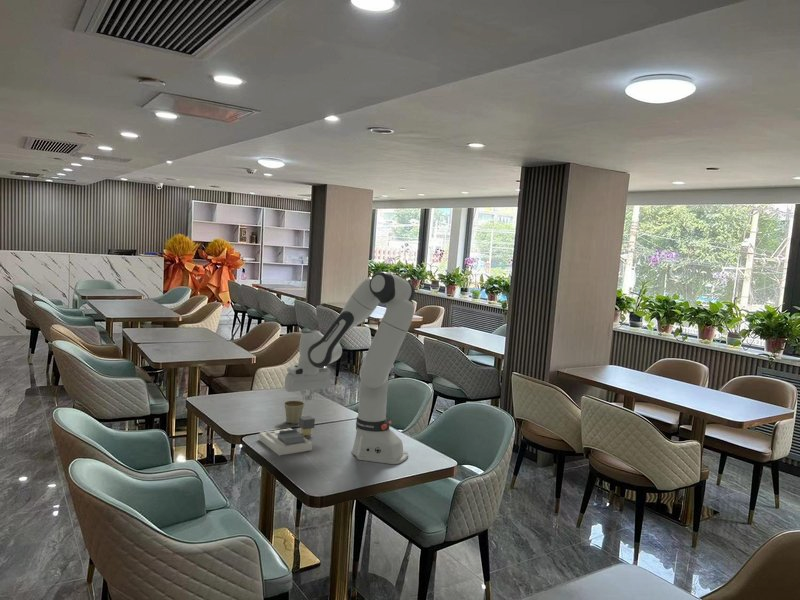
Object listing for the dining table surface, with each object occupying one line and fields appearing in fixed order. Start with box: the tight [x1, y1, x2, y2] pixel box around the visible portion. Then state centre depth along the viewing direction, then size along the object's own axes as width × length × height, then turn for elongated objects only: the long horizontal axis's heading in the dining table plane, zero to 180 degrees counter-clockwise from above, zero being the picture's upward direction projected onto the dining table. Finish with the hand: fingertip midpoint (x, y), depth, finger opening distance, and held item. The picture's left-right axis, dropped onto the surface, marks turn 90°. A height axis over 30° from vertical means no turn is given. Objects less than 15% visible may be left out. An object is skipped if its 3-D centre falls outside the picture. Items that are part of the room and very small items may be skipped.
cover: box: [278, 428, 305, 445], centre depth 231 cm, size 7×8×3 cm
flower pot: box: [283, 400, 306, 424], centre depth 266 cm, size 9×9×9 cm
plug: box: [298, 415, 316, 437], centre depth 250 cm, size 5×5×7 cm
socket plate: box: [258, 427, 313, 456], centre depth 235 cm, size 20×14×4 cm
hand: (307, 400), depth 248 cm, fingers closed
